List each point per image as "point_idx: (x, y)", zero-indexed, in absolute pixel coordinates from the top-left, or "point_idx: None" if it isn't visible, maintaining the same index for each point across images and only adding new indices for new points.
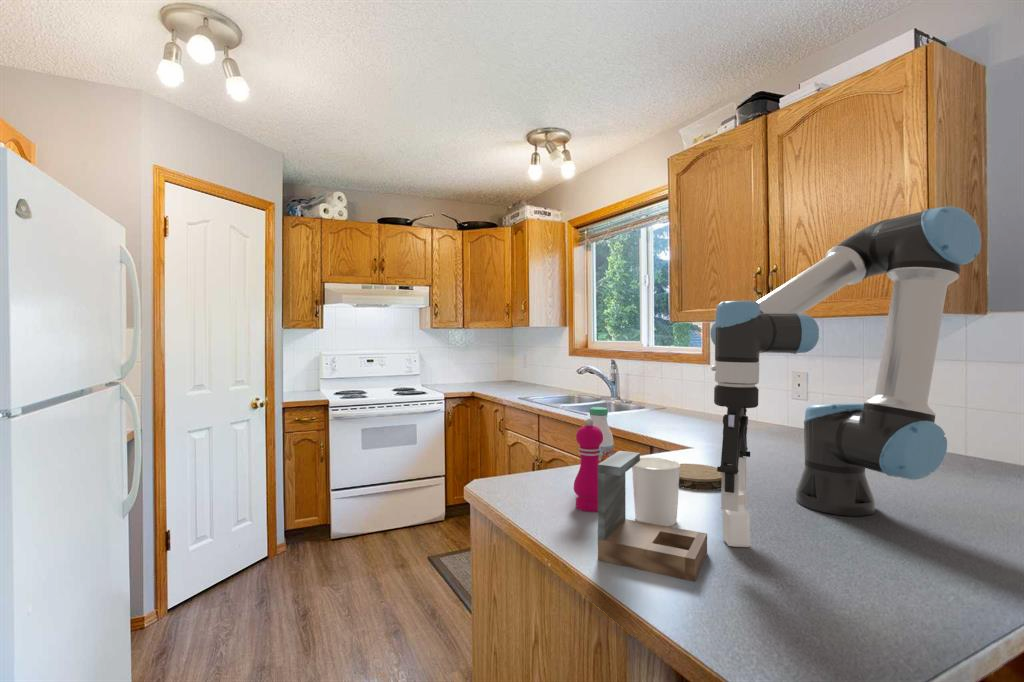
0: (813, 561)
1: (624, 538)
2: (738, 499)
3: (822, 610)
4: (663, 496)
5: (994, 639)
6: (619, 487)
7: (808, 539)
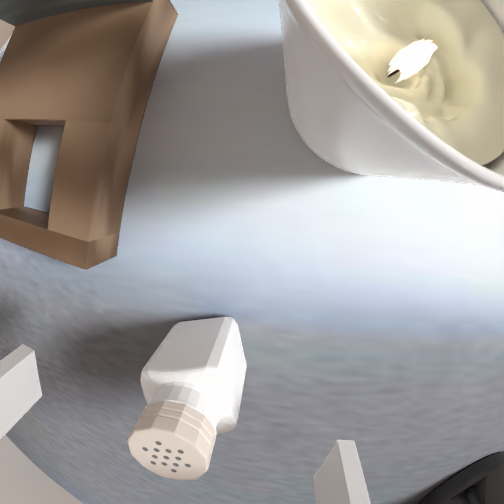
0: None
1: (22, 53)
2: (17, 416)
3: None
4: (293, 87)
5: (62, 486)
6: None
7: (290, 475)
